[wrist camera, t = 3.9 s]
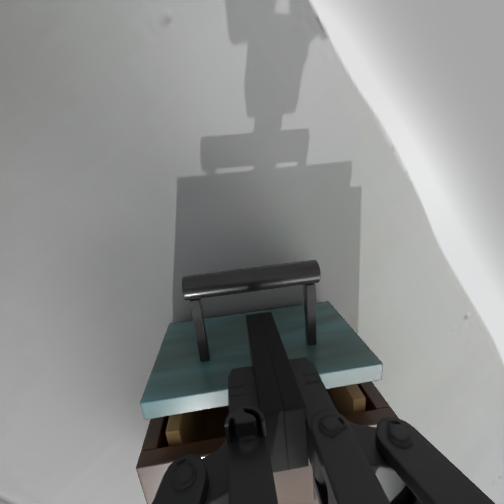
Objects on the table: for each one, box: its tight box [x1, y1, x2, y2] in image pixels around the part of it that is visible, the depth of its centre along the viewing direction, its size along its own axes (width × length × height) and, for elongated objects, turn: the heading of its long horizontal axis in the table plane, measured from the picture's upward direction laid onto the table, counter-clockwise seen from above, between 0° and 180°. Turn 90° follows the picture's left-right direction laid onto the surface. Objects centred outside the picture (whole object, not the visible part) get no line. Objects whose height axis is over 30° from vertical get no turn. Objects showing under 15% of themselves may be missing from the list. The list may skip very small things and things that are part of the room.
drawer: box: [140, 260, 382, 447], centre depth 19 cm, size 19×14×8 cm
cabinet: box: [136, 381, 399, 504], centre depth 21 cm, size 15×15×10 cm
